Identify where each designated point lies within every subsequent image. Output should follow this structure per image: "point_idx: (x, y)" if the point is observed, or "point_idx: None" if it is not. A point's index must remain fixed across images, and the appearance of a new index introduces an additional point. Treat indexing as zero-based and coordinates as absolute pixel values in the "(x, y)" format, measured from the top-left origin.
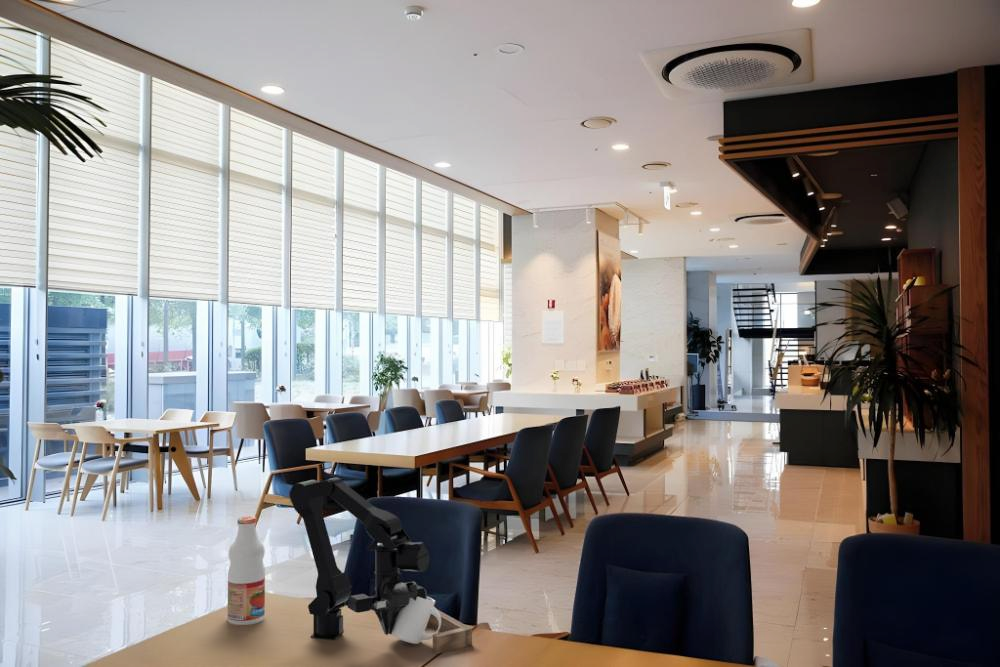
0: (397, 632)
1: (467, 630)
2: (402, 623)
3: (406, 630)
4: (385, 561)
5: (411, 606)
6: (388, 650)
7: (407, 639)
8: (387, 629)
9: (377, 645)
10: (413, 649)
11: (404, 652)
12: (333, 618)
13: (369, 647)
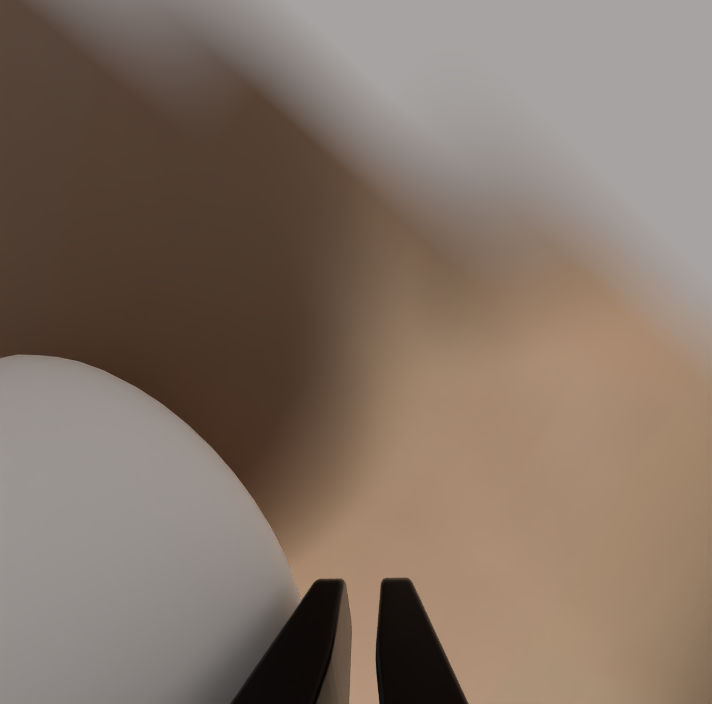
0: (213, 543)
1: None
2: (30, 662)
3: (30, 488)
4: None
5: None
6: (379, 432)
7: (97, 381)
8: (396, 647)
9: (434, 603)
10: (82, 318)
11: (216, 282)
12: None
13: (535, 597)
